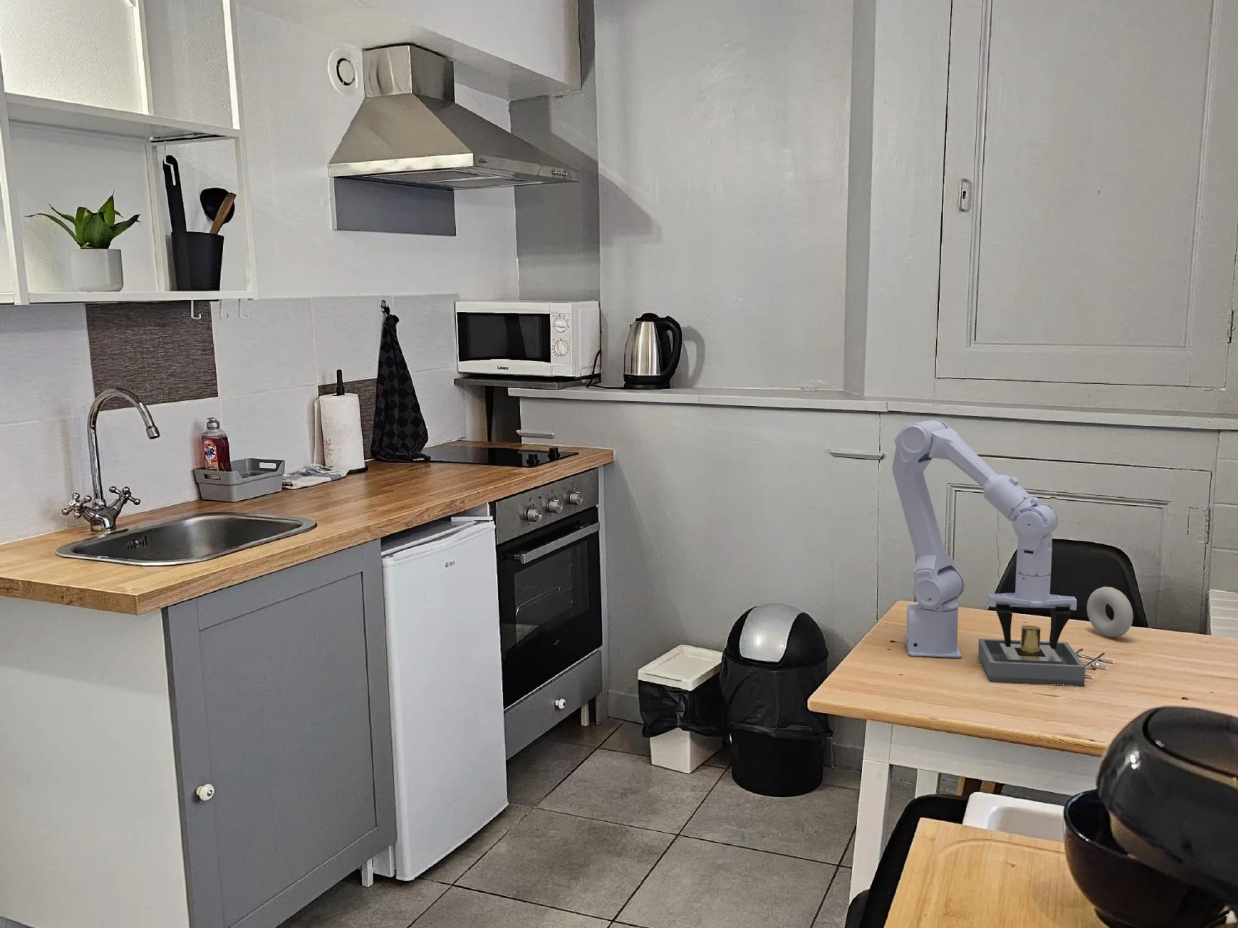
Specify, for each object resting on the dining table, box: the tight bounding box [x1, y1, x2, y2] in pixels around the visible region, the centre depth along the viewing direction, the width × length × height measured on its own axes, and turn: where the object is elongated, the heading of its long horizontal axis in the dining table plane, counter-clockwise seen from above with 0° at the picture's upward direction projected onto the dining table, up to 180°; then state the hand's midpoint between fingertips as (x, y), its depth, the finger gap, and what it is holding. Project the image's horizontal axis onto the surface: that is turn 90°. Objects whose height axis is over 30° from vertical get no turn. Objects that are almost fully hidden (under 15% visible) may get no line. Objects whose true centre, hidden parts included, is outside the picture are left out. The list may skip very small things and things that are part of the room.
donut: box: [1086, 586, 1134, 638], centre depth 208 cm, size 10×3×10 cm, turn 23°
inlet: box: [999, 643, 1062, 664], centre depth 190 cm, size 9×9×2 cm
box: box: [977, 638, 1086, 687], centre depth 190 cm, size 16×14×4 cm
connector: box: [1020, 624, 1041, 657], centre depth 189 cm, size 3×3×7 cm
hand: (1030, 646), depth 189 cm, fingers open, 7 cm apart
